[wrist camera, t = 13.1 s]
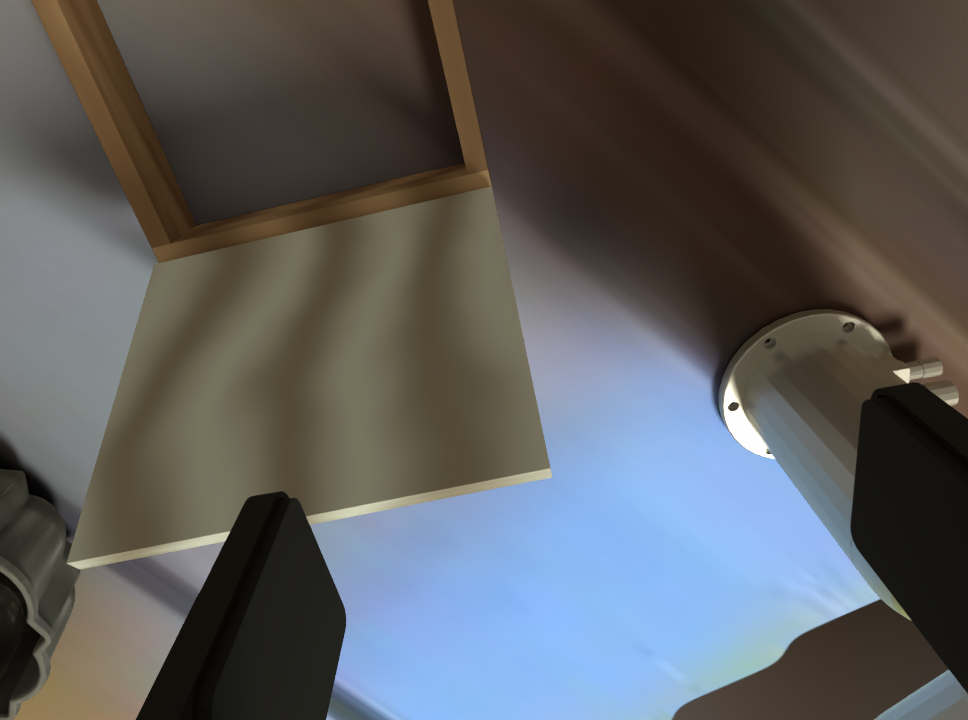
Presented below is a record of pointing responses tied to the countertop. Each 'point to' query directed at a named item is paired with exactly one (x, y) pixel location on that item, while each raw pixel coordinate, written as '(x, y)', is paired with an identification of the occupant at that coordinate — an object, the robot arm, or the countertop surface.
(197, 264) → the cold frame
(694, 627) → the countertop surface
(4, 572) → the bundt pan
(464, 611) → the countertop surface
